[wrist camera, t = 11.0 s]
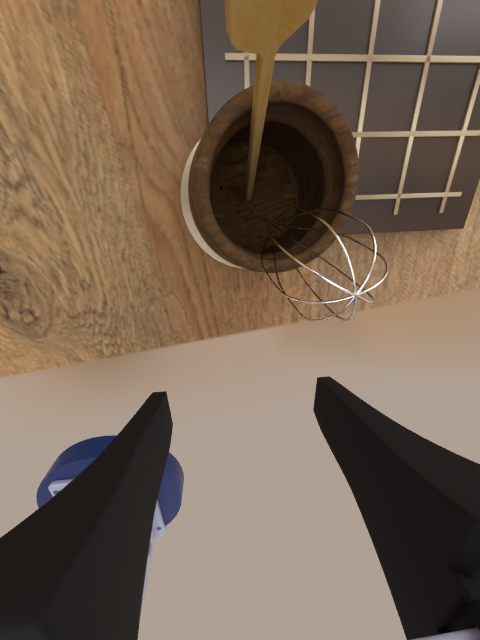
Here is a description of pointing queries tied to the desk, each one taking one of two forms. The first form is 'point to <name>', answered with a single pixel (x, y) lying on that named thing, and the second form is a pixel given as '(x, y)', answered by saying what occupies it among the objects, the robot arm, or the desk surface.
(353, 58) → the grid board
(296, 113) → the utensil holder
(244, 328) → the desk surface
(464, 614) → the robot arm
